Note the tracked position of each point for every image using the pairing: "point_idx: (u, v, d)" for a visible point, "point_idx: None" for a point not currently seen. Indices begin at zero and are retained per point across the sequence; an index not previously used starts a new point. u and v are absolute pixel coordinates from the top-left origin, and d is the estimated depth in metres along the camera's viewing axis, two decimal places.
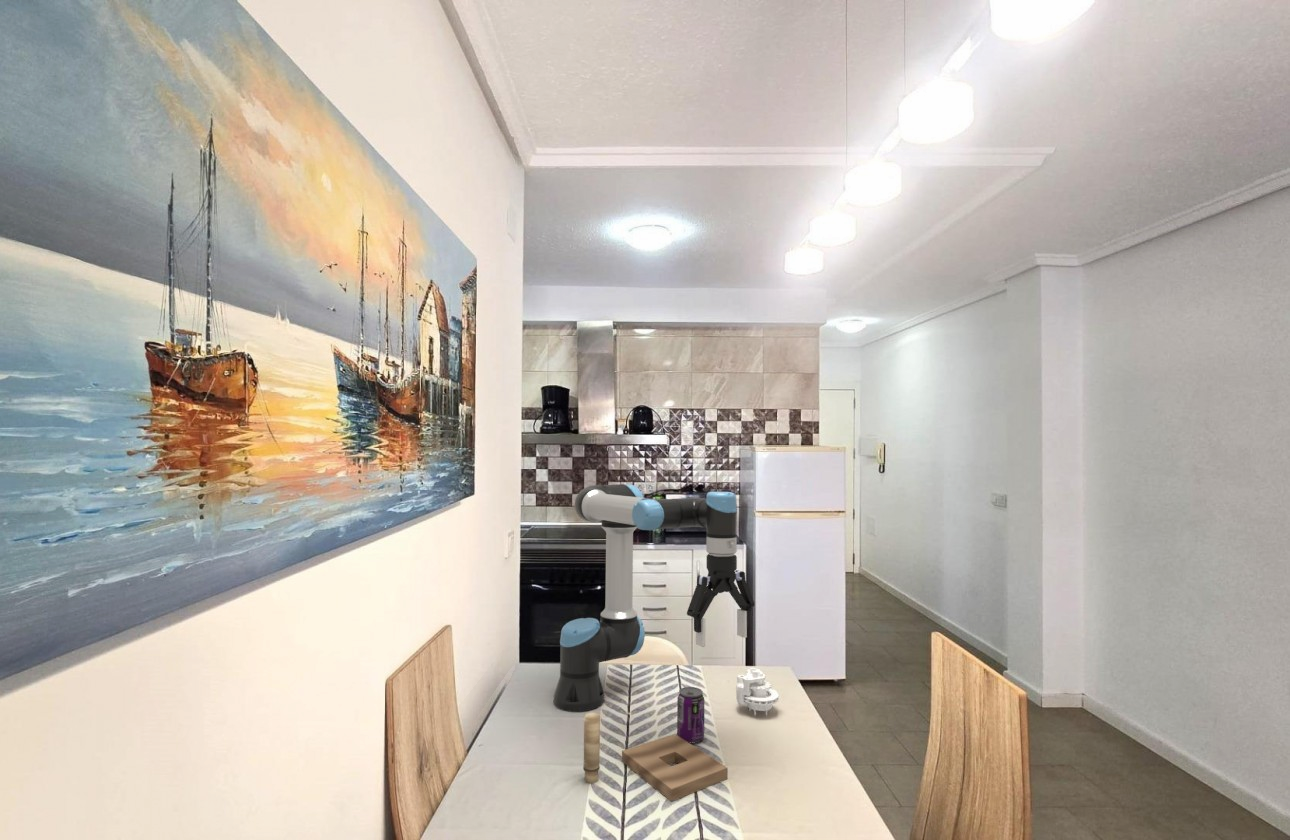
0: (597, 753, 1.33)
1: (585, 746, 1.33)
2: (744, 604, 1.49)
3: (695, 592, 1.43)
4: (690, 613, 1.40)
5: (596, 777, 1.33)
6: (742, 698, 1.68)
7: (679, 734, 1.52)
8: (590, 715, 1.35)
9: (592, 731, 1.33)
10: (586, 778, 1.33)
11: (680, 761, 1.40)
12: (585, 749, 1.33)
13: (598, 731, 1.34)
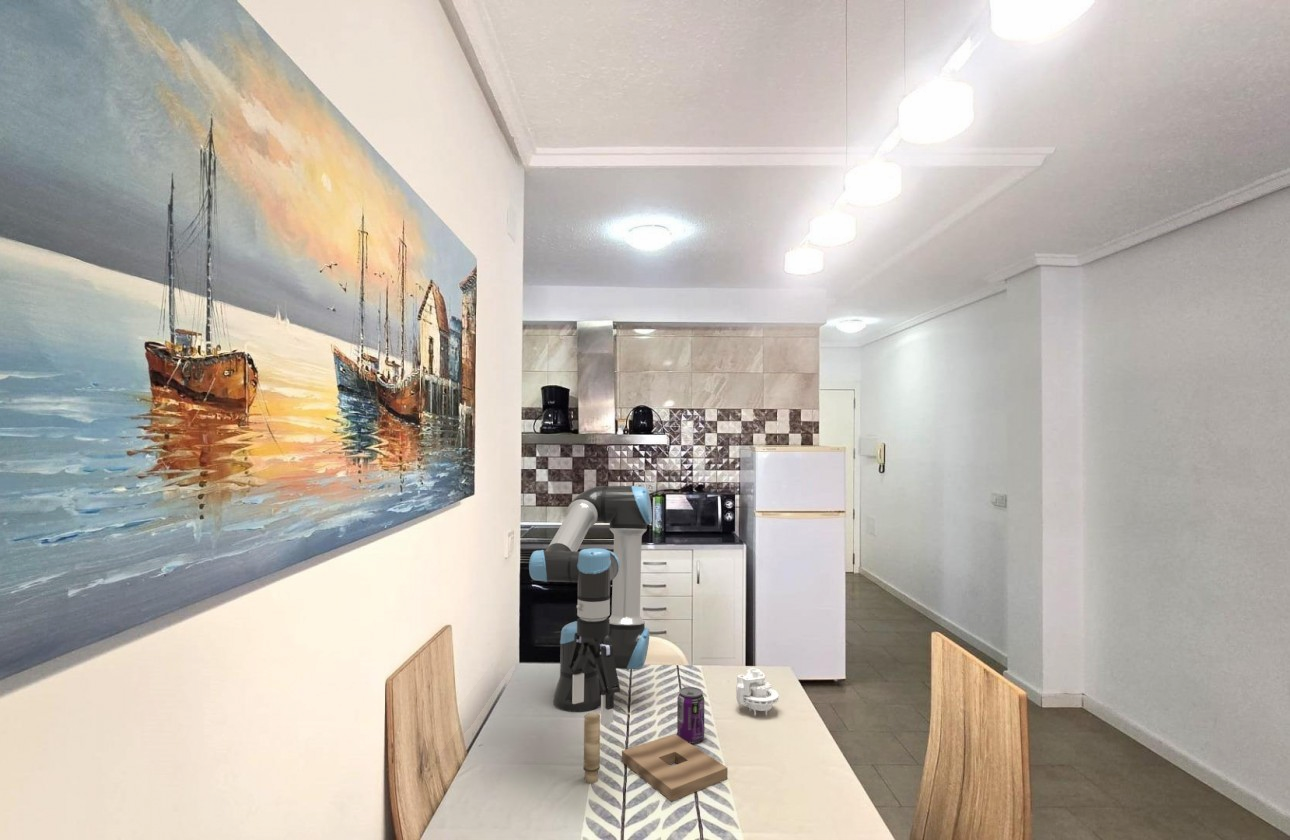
0: (597, 753, 1.33)
1: (585, 746, 1.33)
2: (602, 685, 1.29)
3: None
4: None
5: (596, 777, 1.33)
6: (742, 698, 1.68)
7: (679, 734, 1.52)
8: (590, 715, 1.35)
9: (592, 731, 1.33)
10: (586, 778, 1.33)
11: (680, 761, 1.40)
12: (585, 749, 1.33)
13: (598, 731, 1.34)
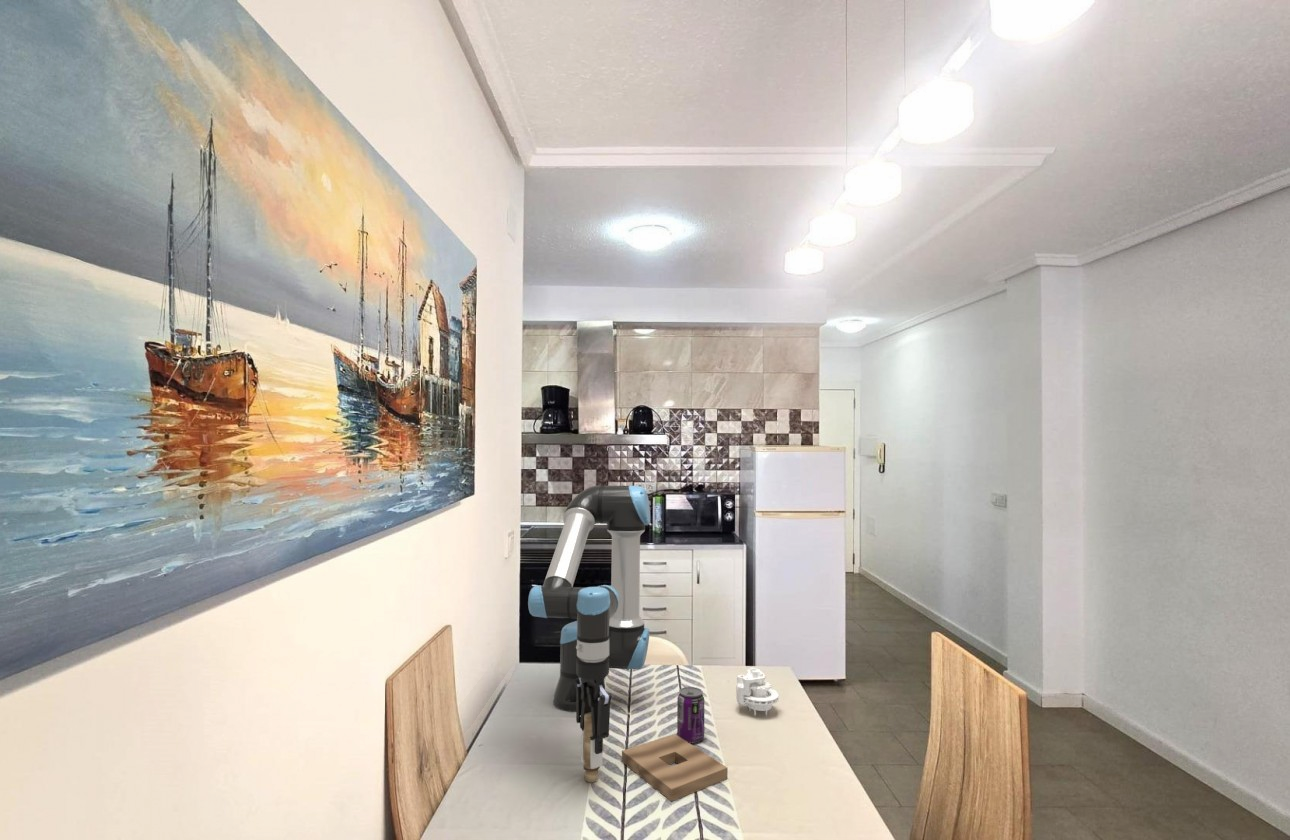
0: None
1: (585, 745, 1.33)
2: (593, 729, 1.32)
3: None
4: None
5: (596, 776, 1.33)
6: (742, 698, 1.68)
7: (679, 734, 1.52)
8: (590, 714, 1.35)
9: None
10: (586, 777, 1.33)
11: (680, 761, 1.40)
12: (585, 748, 1.33)
13: None
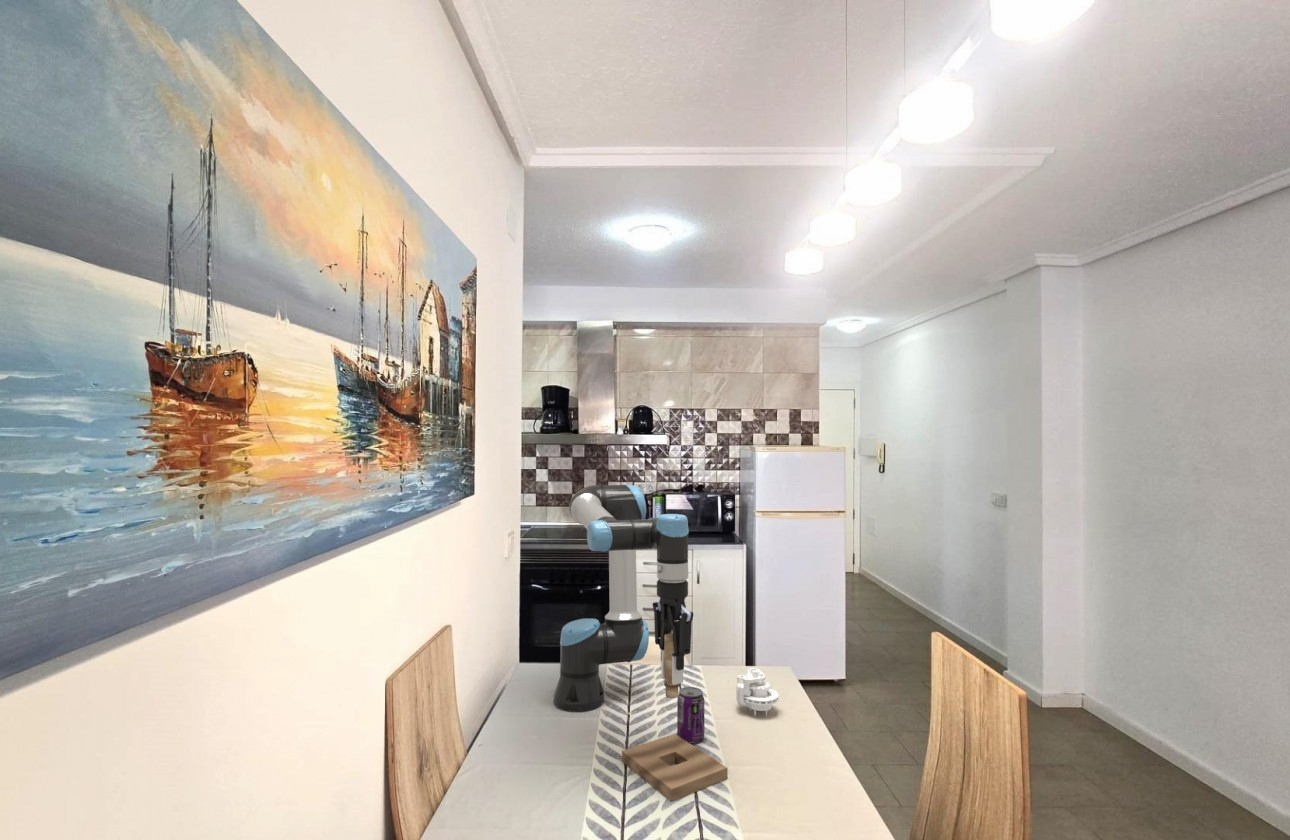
0: None
1: (666, 663, 1.38)
2: (674, 646, 1.37)
3: None
4: None
5: (677, 693, 1.38)
6: (742, 698, 1.68)
7: (679, 734, 1.52)
8: (670, 634, 1.40)
9: (673, 649, 1.38)
10: (667, 694, 1.38)
11: (680, 761, 1.40)
12: (666, 666, 1.38)
13: None
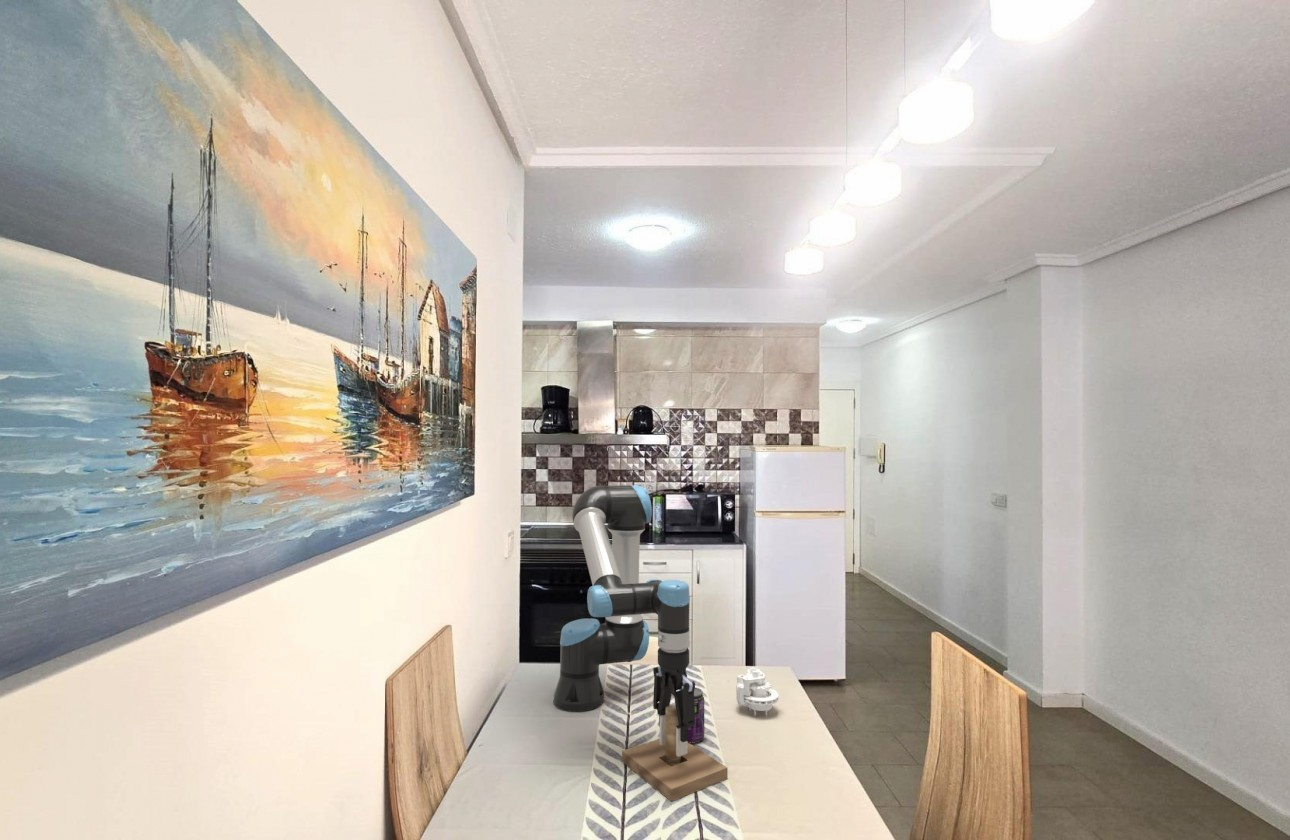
0: None
1: (667, 738, 1.37)
2: (678, 717, 1.35)
3: None
4: None
5: None
6: (742, 698, 1.68)
7: None
8: (671, 707, 1.39)
9: (674, 723, 1.37)
10: None
11: (680, 761, 1.40)
12: (667, 740, 1.37)
13: None
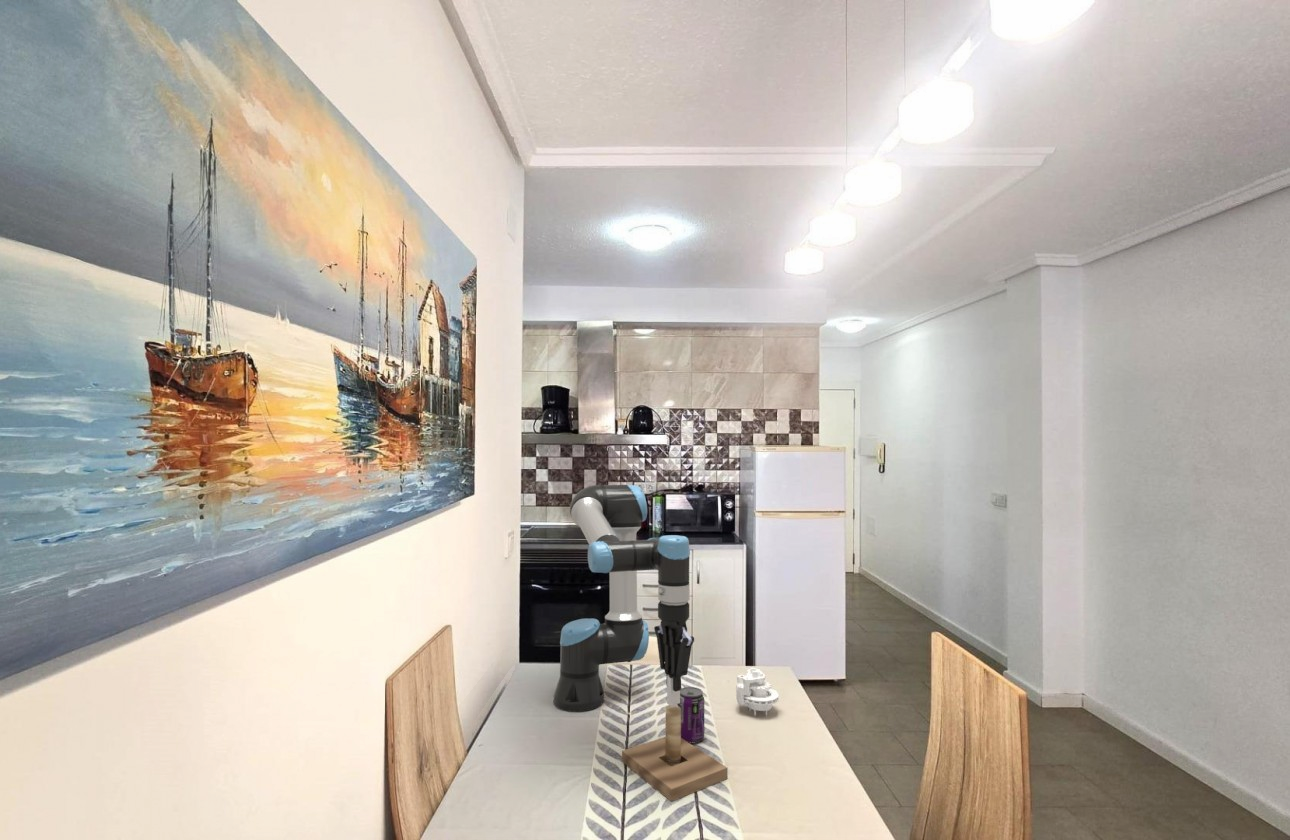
0: (679, 744, 1.37)
1: (667, 738, 1.37)
2: (672, 667, 1.38)
3: None
4: None
5: None
6: (742, 698, 1.68)
7: None
8: (671, 707, 1.39)
9: (674, 723, 1.37)
10: None
11: (680, 761, 1.40)
12: (667, 740, 1.37)
13: (679, 723, 1.38)
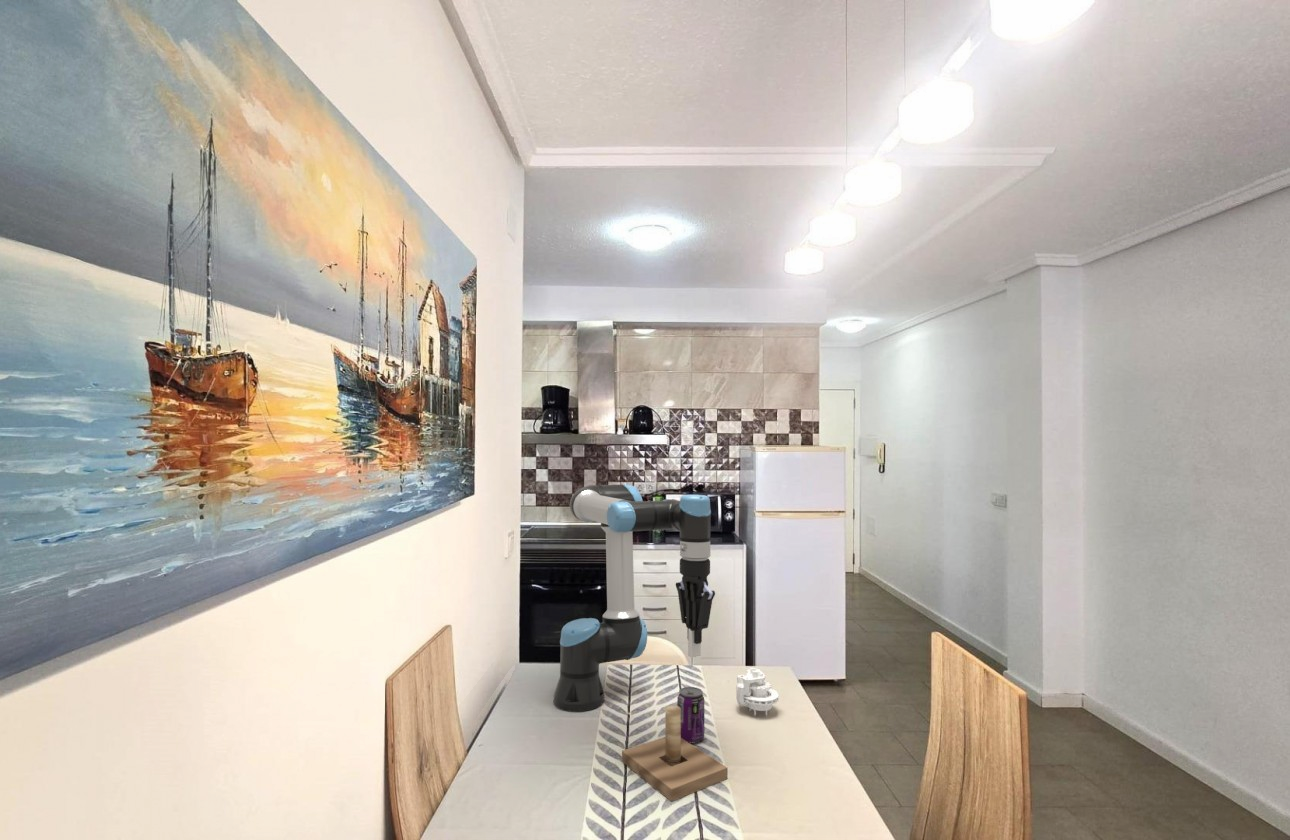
0: (679, 744, 1.37)
1: (667, 738, 1.37)
2: (693, 621, 1.43)
3: None
4: None
5: None
6: (742, 698, 1.68)
7: None
8: (671, 707, 1.40)
9: (674, 723, 1.37)
10: None
11: (680, 761, 1.40)
12: (667, 740, 1.37)
13: (679, 723, 1.38)
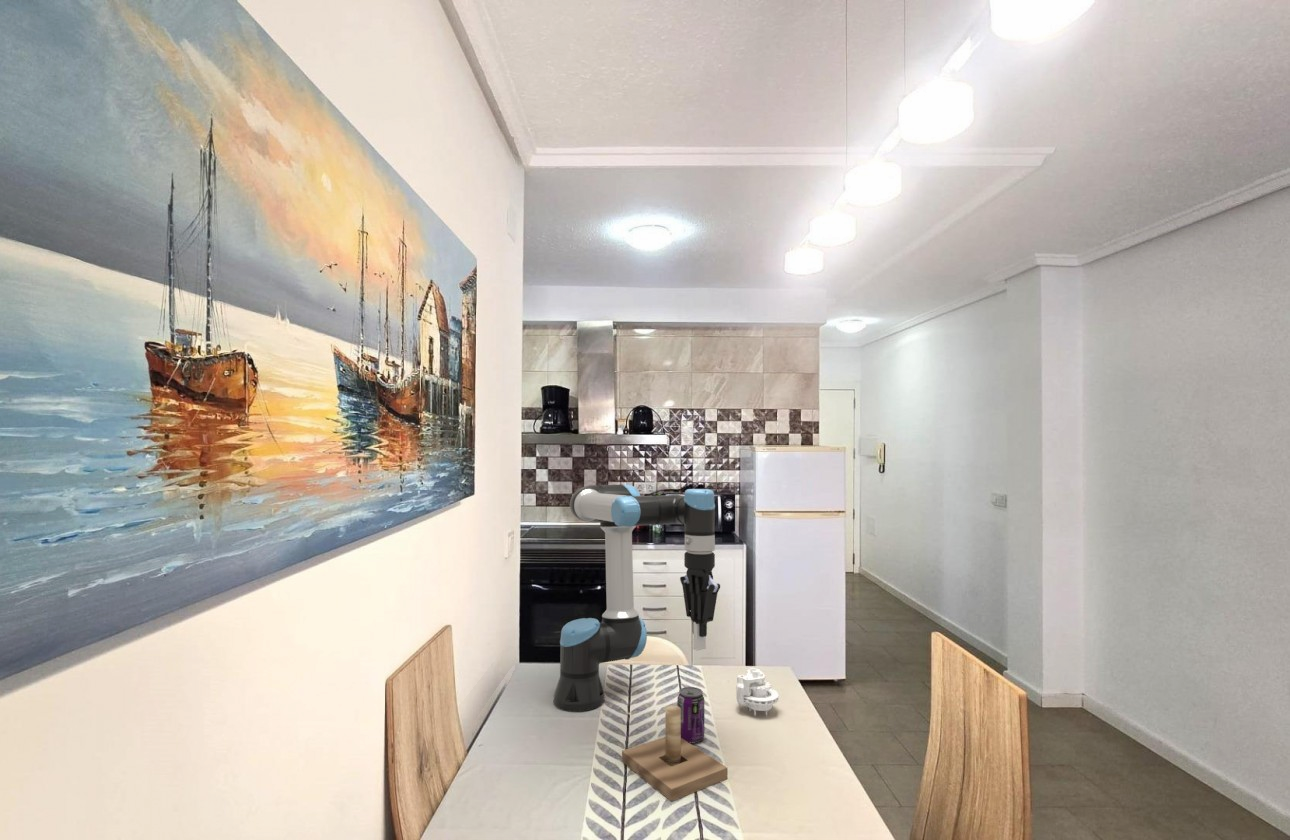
0: (679, 744, 1.37)
1: (667, 738, 1.37)
2: (698, 614, 1.43)
3: None
4: None
5: None
6: (742, 698, 1.68)
7: None
8: (671, 707, 1.39)
9: (674, 723, 1.37)
10: None
11: (680, 761, 1.40)
12: (667, 740, 1.37)
13: (679, 723, 1.38)
